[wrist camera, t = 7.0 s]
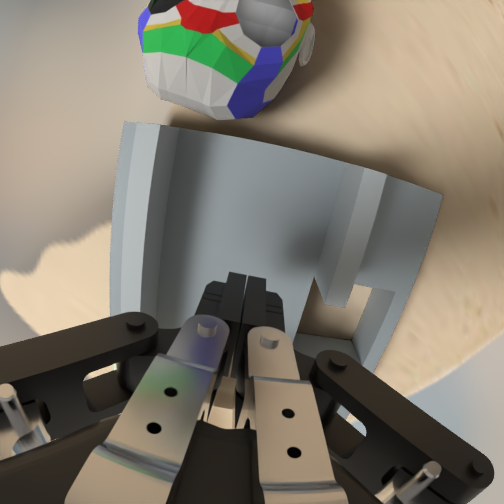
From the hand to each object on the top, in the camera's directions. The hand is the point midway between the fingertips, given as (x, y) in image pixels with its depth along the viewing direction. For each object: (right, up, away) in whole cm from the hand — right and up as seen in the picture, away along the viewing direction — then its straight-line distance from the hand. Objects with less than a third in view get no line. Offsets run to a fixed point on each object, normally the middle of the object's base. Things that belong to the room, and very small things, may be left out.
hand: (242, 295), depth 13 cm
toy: (+4, +22, -1) cm, 23 cm away
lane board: (+1, -1, +7) cm, 7 cm away
